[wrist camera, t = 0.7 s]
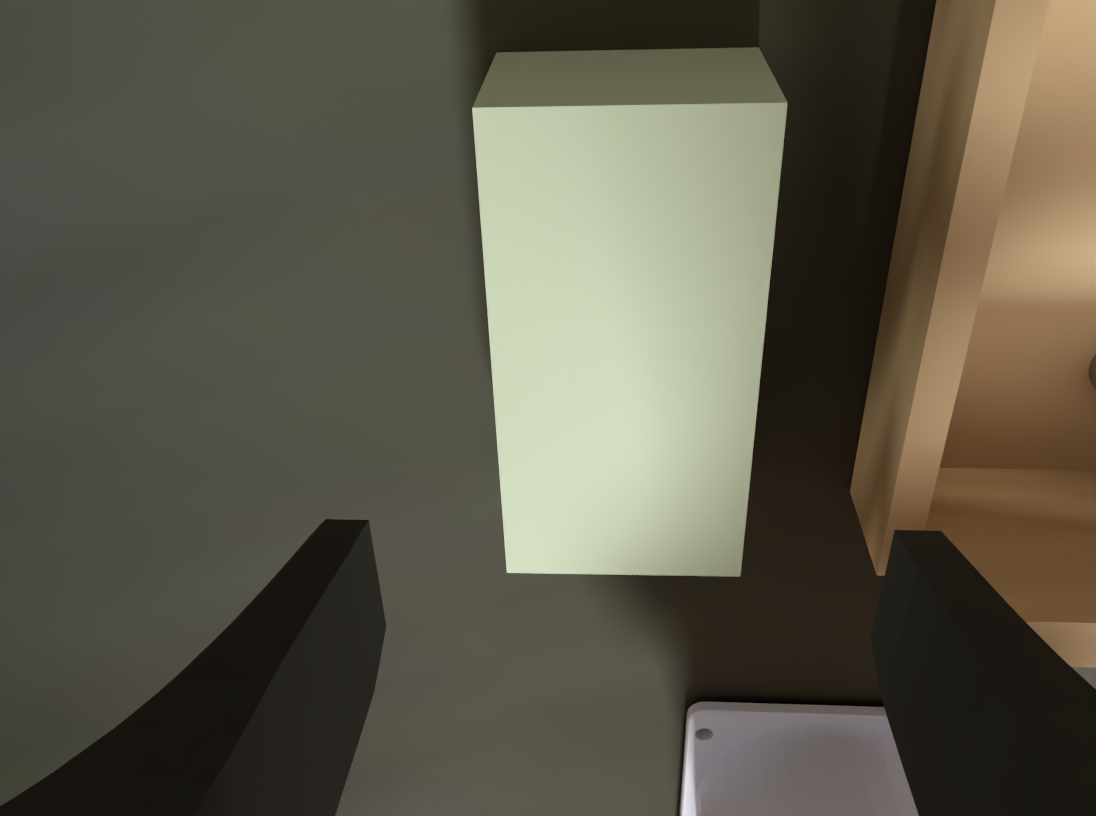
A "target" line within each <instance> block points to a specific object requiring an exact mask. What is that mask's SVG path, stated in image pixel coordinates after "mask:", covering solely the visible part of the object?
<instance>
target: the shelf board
mask: <svg viewBox="0 0 1096 816" xmlns="http://www.w3.org/2000/svg"><path fill="white" fill-rule="evenodd" d="M787 104H788V102H787V100H786V98H785V97H784V95H783V93H782V91H781V89H780V87H779V85H778V83H777V81H776V79H775V77H774V75H773V74H772V72H771V70H770V68H769V66H768V64H767V62H766V60H765V58H764V56H763V54H762V53H761V51H760V49H759V47H750V48H698V49H646V50H594V51H542V52H497V53H496V55H495V57H494V59H493V62H492V64H491V66H490V68H489V71H488V73H487V75H486V78H485V80H484V82H483V84H482V87H481V89H480V91H479V93H478V96H477V98H476V100H475V103H474V105H473V107H472V111H473V125H474V138H475V152H476V165H477V178H478V192H479V205H480V219H481V232H482V245H483V259H484V272H485V286H486V299H487V313H488V326H489V339H490V353H491V366H492V380H493V393H494V406H495V420H496V433H497V447H498V460H499V473H500V487H501V500H502V514H503V527H504V540H505V554H506V567H507V573H551V574H611V575H671V576H731V577H740V576H741V566H742V556H743V545H744V535H745V525H746V515H747V505H748V495H749V485H750V475H751V465H752V455H753V445H754V435H755V425H756V415H757V405H758V395H759V385H760V375H761V365H762V355H763V345H764V335H765V325H766V315H767V305H768V295H769V285H770V275H771V265H772V255H773V245H774V235H775V225H776V215H777V204H778V194H779V184H780V174H781V164H782V154H783V144H784V134H785V124H786V114H787Z"/></svg>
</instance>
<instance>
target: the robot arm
mask: <svg viewBox="0 0 1096 816" xmlns="http://www.w3.org/2000/svg"><path fill="white" fill-rule="evenodd" d="M385 629H386V622H385V616H384V610H383V604H382V598H381V592H380V586H379V580H378V574H377V568H376V562H375V556H374V550H373V544H372V538H371V532H370V526H369V520H334V519H326V520H325V521H324V522H323V523H322V524H321V525H319V527H318V528H317V529H316V530H315V531H314V532H313V533H312V534H311V536H310V537H309V538H308V539H307V540H306V541H305V542H304V544H303V545H302V546H301V547H300V548H299V549H298V551H297V552H296V553H295V554H294V555H293V556H292V557H291V559H290V560H289V561H288V562H287V563H286V564H285V565H284V567H283V568H282V569H281V570H280V571H279V572H278V573H277V574H276V575H275V577H274V578H273V579H272V580H271V581H270V582H269V583H268V584H267V586H266V587H265V588H264V589H263V590H262V591H261V592H260V593H259V594H258V595H257V596H256V597H255V598H254V599H253V601H252V602H251V603H250V604H249V605H248V606H247V607H246V608H245V609H244V610H243V611H242V612H241V613H240V614H239V615H238V617H237V618H236V619H235V620H234V621H233V622H232V623H231V624H230V625H229V626H228V627H227V628H226V629H225V630H224V631H223V632H222V633H221V634H220V635H219V636H218V637H217V638H216V639H215V640H214V641H213V642H212V643H211V644H210V645H209V646H208V647H207V648H205V649H204V650H203V651H202V652H201V653H200V654H199V655H198V656H197V657H196V658H195V659H194V660H193V661H192V662H191V663H190V664H189V665H188V666H187V667H186V668H185V669H184V670H183V671H182V672H180V673H179V674H178V675H177V676H176V677H175V678H174V679H173V680H172V681H170V682H169V683H168V684H167V685H166V686H165V687H164V688H163V689H161V690H160V691H159V692H158V693H157V694H156V695H154V696H153V697H152V698H151V699H150V700H149V701H147V702H146V703H145V704H144V705H143V706H141V707H140V708H139V709H138V710H136V711H135V712H134V713H133V714H132V715H130V716H129V717H128V718H127V719H126V720H124V721H123V722H122V723H120V724H119V725H118V726H117V727H115V728H114V729H113V730H111V731H110V732H109V733H107V734H106V735H104V736H103V737H102V738H100V739H99V740H97V741H96V742H95V743H93V744H92V745H90V746H89V747H88V748H86V749H85V750H84V751H82V752H81V753H79V754H78V755H77V756H75V757H74V758H72V759H71V760H70V761H68V762H67V763H65V764H64V765H63V766H61V767H60V768H59V769H57V770H56V771H54V772H53V773H51V774H50V775H48V776H47V777H45V778H44V779H43V780H41V781H39V782H38V783H36V784H35V785H33V786H32V787H30V788H29V789H27V790H25V791H24V792H22V793H21V794H19V795H18V796H16V797H15V798H13V799H12V800H10V801H8V802H7V803H5V804H3V805H2V806H0V816H335V814H336V811H337V807H338V804H339V801H340V798H341V795H342V792H343V789H344V786H345V782H346V779H347V776H348V773H349V770H350V767H351V764H352V761H353V757H354V754H355V751H356V748H357V745H358V742H359V739H360V735H361V732H362V729H363V726H364V723H365V719H366V716H367V713H368V710H369V706H370V703H371V700H372V697H373V693H374V689H375V684H376V679H377V674H378V668H379V663H380V658H381V652H382V646H383V641H384V635H385ZM871 639H872V645H873V651H874V657H875V662H876V668H877V674H878V679H879V684H880V689H881V694H882V699H883V704H884V707H868V706H835V705H803V704H770V703H738V702H706V701H705V702H698V703H696V704H693V705H692V706H691V707H690V708H689V709H688V711H687V719H686V733H685V747H684V761H683V775H682V788H681V802H680V816H1096V689H1095V688H1093V687H1092V686H1091V685H1090V684H1089V683H1088V682H1087V681H1086V680H1085V679H1084V678H1082V677H1081V676H1080V675H1079V674H1078V673H1077V672H1076V671H1075V670H1074V669H1073V668H1071V667H1070V666H1069V665H1068V664H1067V663H1066V662H1065V661H1064V660H1063V659H1062V658H1061V657H1060V656H1059V655H1058V654H1057V653H1056V652H1055V651H1054V650H1053V649H1052V648H1051V647H1050V646H1049V645H1048V644H1047V643H1046V642H1045V641H1044V640H1043V639H1042V638H1041V637H1040V636H1039V635H1038V634H1037V633H1036V632H1035V631H1034V630H1033V629H1032V628H1031V627H1030V626H1029V625H1028V624H1027V623H1026V622H1025V621H1024V620H1023V619H1022V618H1021V617H1020V616H1019V614H1018V613H1017V612H1016V611H1015V610H1014V609H1013V608H1012V607H1011V606H1010V605H1009V604H1008V603H1007V602H1006V601H1005V600H1004V599H1003V598H1002V596H1001V595H1000V594H999V593H998V592H997V591H996V590H995V589H994V588H993V587H992V586H991V585H990V584H989V582H988V581H987V580H986V579H985V578H984V577H983V576H982V575H981V574H980V573H979V572H978V570H977V569H976V568H975V567H974V566H973V565H972V564H971V563H970V562H969V561H968V559H967V558H966V557H965V556H964V555H963V554H962V553H961V552H960V551H959V550H958V549H957V547H956V546H955V545H954V544H953V543H952V542H951V541H950V540H949V539H948V538H947V537H946V536H945V535H944V534H943V532H942V531H927V530H894V534H893V539H892V544H891V548H890V553H889V558H888V562H887V567H886V572H885V576H884V581H883V586H882V590H881V595H880V600H879V604H878V609H877V614H876V618H875V623H874V628H873V632H872V637H871ZM704 728H705V729H704Z"/></svg>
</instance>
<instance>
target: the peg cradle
mask: <svg viewBox="0 0 1096 816" xmlns="http://www.w3.org/2000/svg"><path fill="white" fill-rule="evenodd" d="M850 493H851V496H852V500H853V503H854V506H855V509H856V512H857V515H858V518H859V522H860V525H861V528H862V531H863V534H864V537H865V540H866V544H867V547H868V550H869V553H870V556H871V559H872V562H873V566H874V569H875V572H876V575H877V576H885V572H886V567H887V562H888V558H889V553H890V548H891V544H892V539H893V534H894V530H927V531H942V532H943V534H944V535H945V536H946V537H947V538H948V539H949V540H950V541H951V542H952V543H953V544H954V545H955V546H956V547H957V549H958V550H959V551H960V552H961V553H962V554H963V555H964V556H965V557H966V558H967V559H968V561H969V562H970V563H971V564H972V565H973V566H974V567H975V568H976V569H977V570H978V572H979V573H980V574H981V575H982V576H983V577H984V578H985V579H986V580H987V581H988V582H989V584H990V585H991V586H992V587H993V588H994V589H995V590H996V591H997V592H998V593H999V594H1000V595H1001V596H1002V598H1003V599H1004V600H1005V601H1006V602H1007V603H1008V604H1009V605H1010V606H1011V607H1012V608H1013V609H1014V610H1015V611H1016V612H1017V613H1018V614H1019V616H1020V617H1021V618H1022V619H1023V620H1024V621H1025V622H1026V623H1027V624H1028V625H1029V626H1030V627H1031V628H1032V629H1033V630H1034V631H1035V632H1036V633H1037V634H1038V635H1039V636H1040V637H1041V638H1042V639H1043V640H1044V641H1045V642H1046V643H1047V644H1048V645H1049V646H1050V647H1051V648H1052V649H1053V650H1054V651H1055V652H1056V653H1057V654H1058V655H1059V656H1060V657H1061V658H1062V659H1063V660H1064V661H1065V662H1066V663H1067V664H1068V665H1069V666H1070V667H1093V668H1096V0H936V6H935V11H934V17H933V23H932V28H931V34H930V40H929V45H928V51H927V57H926V63H925V68H924V74H923V80H922V85H921V91H920V97H919V102H918V108H917V114H916V119H915V125H914V131H913V136H912V142H911V148H910V153H909V159H908V165H907V170H906V176H905V182H904V187H903V193H902V199H901V204H900V210H899V216H898V221H897V227H896V233H895V238H894V244H893V250H892V255H891V261H890V267H889V272H888V278H887V284H886V290H885V295H884V301H883V307H882V312H881V318H880V324H879V329H878V335H877V341H876V346H875V352H874V358H873V363H872V369H871V375H870V380H869V386H868V392H867V397H866V403H865V409H864V414H863V420H862V426H861V431H860V437H859V443H858V448H857V454H856V460H855V465H854V471H853V477H852V482H851V488H850Z"/></svg>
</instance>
